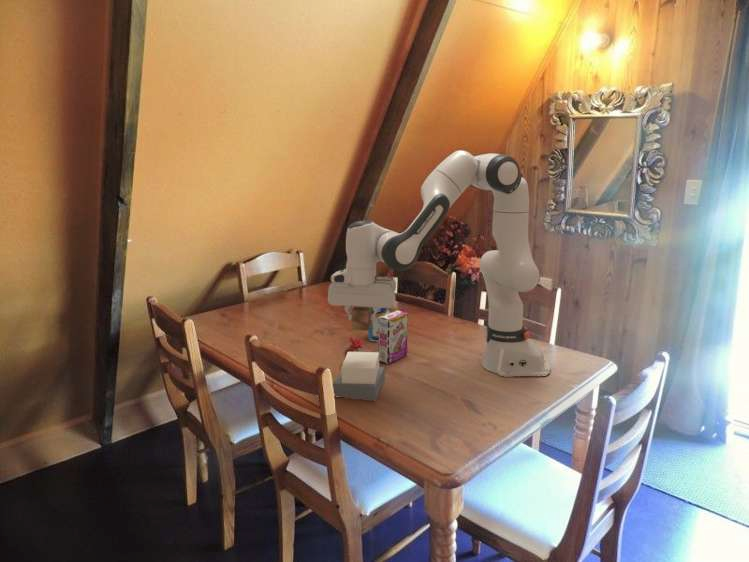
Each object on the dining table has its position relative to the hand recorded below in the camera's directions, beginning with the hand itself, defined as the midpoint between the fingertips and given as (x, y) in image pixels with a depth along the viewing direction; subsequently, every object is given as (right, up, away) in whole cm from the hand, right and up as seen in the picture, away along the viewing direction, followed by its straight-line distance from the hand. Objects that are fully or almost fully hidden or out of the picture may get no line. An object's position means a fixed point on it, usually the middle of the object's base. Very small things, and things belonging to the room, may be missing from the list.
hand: (361, 320), depth 168 cm
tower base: (-1, -22, +6) cm, 23 cm away
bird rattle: (-3, -18, +22) cm, 29 cm away
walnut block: (0, -2, 0) cm, 2 cm away
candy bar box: (+10, -16, +29) cm, 35 cm away
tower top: (0, -17, +5) cm, 18 cm away
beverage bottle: (+5, -11, +49) cm, 51 cm away
